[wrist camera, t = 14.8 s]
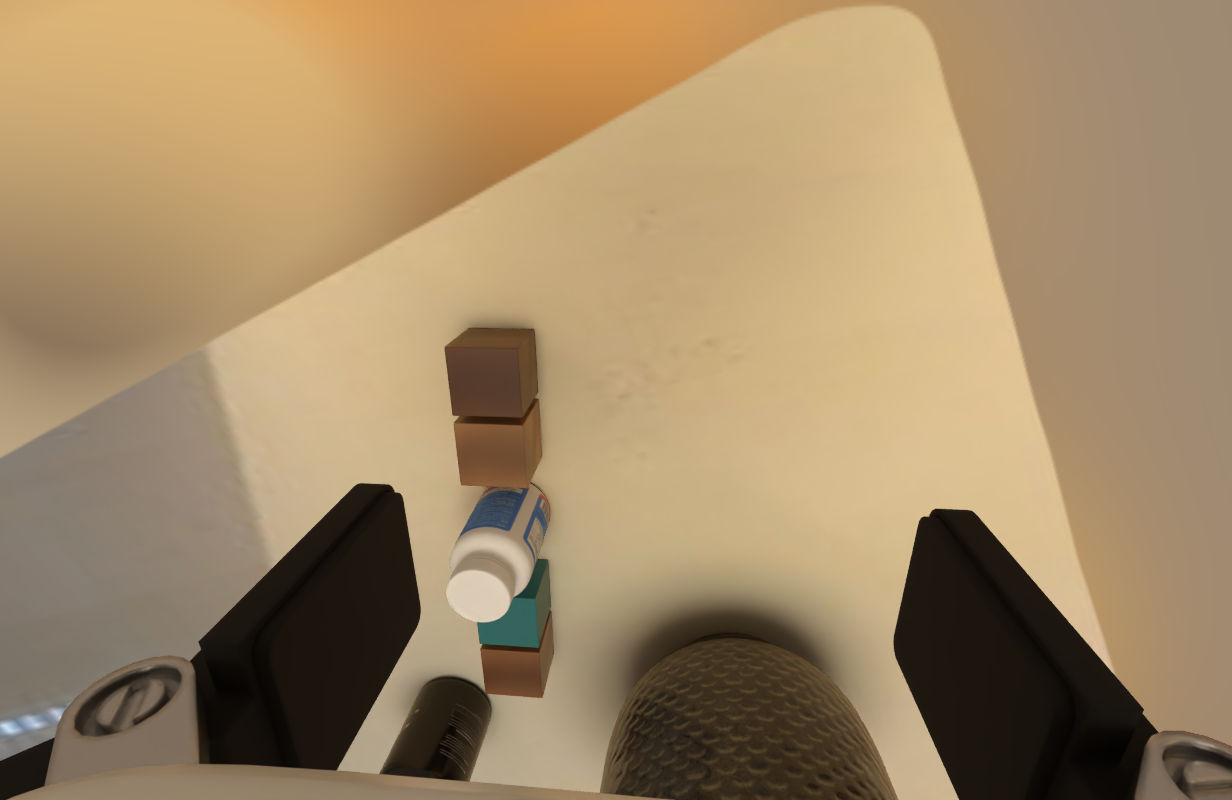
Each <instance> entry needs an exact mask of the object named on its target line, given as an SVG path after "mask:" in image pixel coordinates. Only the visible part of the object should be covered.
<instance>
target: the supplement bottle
mask: <svg viewBox="0 0 1232 800" xmlns="http://www.w3.org/2000/svg"><path fill="white" fill-rule="evenodd" d="M490 717H491V710H490V706H489V703H488V701H487V699H486V698H485V696H484V695H483V694H482V693H481V692H480V691H479V690H478V689H477V688H475V687H474V686H472V685H471V684H469V683H466V682H464V681H460V680H456V679H440V680H436V681H433V682H431V683H429V684H428V685H426V686H425V687H424V688H423V689H422V690H421V691H420V693H419V694H418V696H417V698H416V700H415V702H414V704H413V706H412V708H411V710H410V712H409V714H408V716H407V718H406V720H405V722H404V724H403V726H402V729H401V731H400V733H399V735H398V737H397V739H396V741H395V743H394V745H393V747H392V749H391V751H390V753H389V755H388V757H387V759H386V761H385V763H384V765H383V768H382V770H381V772H380V774H384V775H396V776H408V777H420V778H431V779H443V780H455V781H467V782H469V781H470V778H471V776H472V773H473V770H474V767H475V764H476V761H477V758H478V755H479V752H480V749H481V746H482V743H483V740H484V737H485V734H486V731H487V728H488V725H489V721H490Z"/></svg>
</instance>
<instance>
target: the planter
mask: <svg viewBox="0 0 1232 800" xmlns="http://www.w3.org/2000/svg"><path fill="white" fill-rule="evenodd" d="M600 793H604V794H615V795H626V796H637V797H648V798H659V799H670V800H898V798H897V795H896V793H895V790H894V788H893V786H892V783H891V781H890V778H889V776H888V774H887V771H886V769H885V766H884V764H883V761H882V759H881V757H880V754H879V752H878V750H877V748H876V746H875V744H874V742H873V739H872V737H871V736H870V734H869V732H868V730H867V729H866V727H865V725H864V723H863V721H862V720H861V718H860V716H859V715H858V713H857V711H856V709H855V708H854V707H853V705H852V704H851V702H850V701H849V700H848V698H847V697H846V696H845V695H844V694H843V693H842V691H841V690H840V689H839V688H838V687H837V685H836V684H835V683H834V682H833V681H832V680H831V679H830V678H829V677H828V676H827V675H825V674H824V673H823V672H822V671H821V670H819V669H818V668H817V667H816V666H814V665H813V664H811V663H810V662H808V661H806V660H805V659H803V658H801V657H800V656H798V655H796V654H794V653H792V652H790V651H788V650H786V649H783V648H781V647H779V646H775V645H772V644H770V643H768V642H766V641H764V640H761V639H759V638H756V637H752V636H749V635H743V634H732V633H725V634H715V635H711V636H706V637H703V638H701V639H698V640H695V641H693V642H692V643H690V644H688V645H686V646H685V647H684V648H681V649H679V650H677V651H675V652H674V653H672V654H670V655H668V656H666V657H665V658H664V659H662V660H661V661H660V662H658V663H657V664H656V665H654V666H653V667H652V668H651V669H650V670H649V671H648V672H647V673H646V674H645V675H644V676H643V677H642V678H641V679H640V680H639V681H638V682H637V683H636V685H635V686H634V688H633V689H632V691H631V692H630V694H629V696H628V697H627V699H626V701H625V702H624V705H623V707H622V709H621V711H620V714H619V716H618V719H617V721H616V724H615V727H614V730H613V733H612V736H611V739H610V743H609V747H608V751H607V756H606V761H605V767H604V772H603V778H602V783H601V789H600Z"/></svg>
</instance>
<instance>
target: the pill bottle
mask: <svg viewBox="0 0 1232 800" xmlns="http://www.w3.org/2000/svg"><path fill="white" fill-rule="evenodd" d="M549 520H550V508H549V504H548V502H547V500H546V498H545V496H544V495H543V493H542V492H541V491H540V490H539V489H538V488H537V487H535V486H534V485H532V484H529V486H528V488H514V487H491V486H489V487H488V488H487V489H486V490H485V492H484V493H483V495H482V496H481V498H480V500H479V502H478V503H477V505H476V507H475V509H474V511H473V512H472V514H471V516H470V518H469V519H468V521H467V523H466V525H465V527H464V529H463V531H462V532H461V534H460V536H459V538H458V540H457V541H456V543H455V546H454V548H453V550H452V553H451V557H450V568H451V572H452V575H451V578H450V580H449V582H448V584H447V588H446V596H447V600H448V602H449V604H450V606H451V607H452V608H453V610H454V611H455V612H457V613H458V614H459V615H460V616H462V617H464V618H466V619H468V620H471V621H475V622H491V621H495V620H497V619H499V618H501V617H502V616H503V615H504V614H505V613H506V612H507V611H508V609H509V607H510V604H511V602H512V599H513V597H515V596H516V595H518V594H519V593H521V592H522V591H523V590H524V589H525V587H526V586H527V584H528V583H529V581H530V578H531V576H532V573H533V570H534V567H535V564H536V561H537V558H538V555H539V551H540V548H541V545H542V542H543V539H544V536H545V533H546V530H547V527H548V524H549Z"/></svg>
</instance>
